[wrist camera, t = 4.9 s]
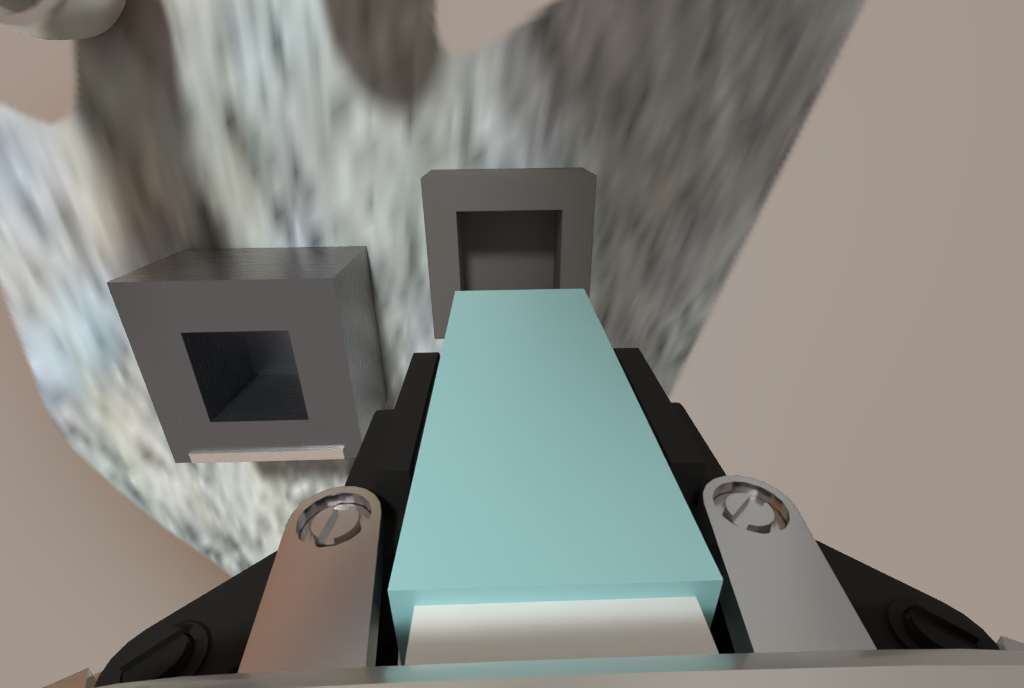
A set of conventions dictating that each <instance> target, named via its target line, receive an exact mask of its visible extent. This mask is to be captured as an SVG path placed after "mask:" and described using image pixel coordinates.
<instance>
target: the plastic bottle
mask: <svg viewBox="0 0 1024 688" xmlns="http://www.w3.org/2000/svg"><path fill="white" fill-rule="evenodd" d="M125 3H126V0H0V25H2V26H4V27H7V28H10V29H13V30H16V31H18V32H21V33H24V34H27V35H30V36H33V37H38V38H42V39H47V40H69V39H86V38H90V37H94V36H98V35H99V34H101V33H103V32H105V31H106V30H108V29H109V28H110V27H111V26H112V25H113V24H114V23H115V22H116V21H117V19H118V18H119V16H120V14H121V12H122V11H123V9H124V6H125Z"/></svg>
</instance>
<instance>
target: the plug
mask: <svg viewBox="0 0 1024 688" xmlns="http://www.w3.org/2000/svg"><path fill="white" fill-rule="evenodd" d="M722 583H723V578H722V576H721V574H720V572H719V570H718V568H717V566H716V564H715V561H714V559H713V557H712V555H711V553H710V551H709V549H708V547H707V545H706V543H705V541H704V538H703V536H702V534H701V532H700V530H699V528H698V526H697V524H696V522H695V520H694V518H693V515H692V513H691V511H690V509H689V507H688V505H687V503H686V501H685V499H684V497H683V495H682V492H681V490H680V488H679V486H678V484H677V482H676V480H675V478H674V476H673V474H672V472H671V469H670V467H669V465H668V463H667V461H666V459H665V457H664V455H663V453H662V451H661V449H660V446H659V444H658V442H657V440H656V438H655V436H654V434H653V432H652V430H651V428H650V426H649V423H648V421H647V419H646V417H645V415H644V413H643V411H642V409H641V407H640V405H639V403H638V400H637V398H636V396H635V394H634V392H633V390H632V388H631V386H630V384H629V382H628V380H627V377H626V375H625V373H624V371H623V369H622V367H621V365H620V363H619V361H618V359H617V357H616V355H615V352H614V350H613V348H612V346H611V344H610V342H609V340H608V338H607V336H606V334H605V332H604V329H603V327H602V325H601V323H600V321H599V319H598V317H597V315H596V313H595V311H594V309H593V306H592V304H591V302H590V300H589V298H588V296H587V294H586V292H585V290H584V289H535V290H484V291H455V295H454V299H453V303H452V308H451V312H450V317H449V321H448V325H447V330H446V334H445V339H444V343H443V348H442V352H441V356H440V361H439V365H438V370H437V374H436V379H435V383H434V387H433V392H432V396H431V401H430V405H429V410H428V414H427V418H426V423H425V427H424V432H423V436H422V441H421V445H420V449H419V454H418V458H417V463H416V467H415V472H414V476H413V480H412V485H411V489H410V494H409V498H408V502H407V507H406V511H405V516H404V520H403V525H402V529H401V533H400V538H399V542H398V547H397V551H396V556H395V560H394V564H393V569H392V573H391V578H390V582H389V587H388V596H389V601H390V607H391V612H392V617H393V623H394V628H395V633H396V639H397V644H398V649H399V655H400V660H401V665H426V664H450V663H475V662H502V661H529V660H557V659H584V658H613V657H642V656H671V655H703V654H719V652H718V650H717V647H716V645H715V642H714V640H713V637H712V635H711V633H710V627H711V624H712V620H713V616H714V613H715V609H716V605H717V602H718V598H719V594H720V591H721V587H722Z"/></svg>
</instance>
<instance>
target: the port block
mask: <svg viewBox="0 0 1024 688" xmlns="http://www.w3.org/2000/svg"><path fill="white" fill-rule="evenodd" d="M107 285H108V287H109V290H110V292H111V295H112V298H113V300H114V303H115V305H116V308H117V311H118V313H119V316H120V319H121V321H122V324H123V326H124V329H125V332H126V334H127V337H128V339H129V342H130V345H131V347H132V350H133V353H134V355H135V358H136V360H137V363H138V366H139V368H140V371H141V373H142V376H143V379H144V381H145V384H146V387H147V389H148V392H149V394H150V397H151V400H152V402H153V405H154V407H155V410H156V413H157V415H158V418H159V421H160V423H161V426H162V428H163V431H164V434H165V436H166V439H167V441H168V444H169V447H170V449H171V452H172V455H173V457H174V460H175V462H176V463H185V462H192V463H216V462H253V461H290V460H326V459H345V458H356V457H357V454H358V452H359V449H360V447H361V444H362V442H363V440H364V437H365V435H366V432H367V430H368V427H369V425H370V422H371V420H372V417H373V415H374V413H375V412H376V411H377V410H383V409H384V407H385V404H386V402H387V392H386V384H385V377H384V370H383V363H382V356H381V349H380V342H379V335H378V327H377V320H376V313H375V306H374V299H373V292H372V285H371V278H370V271H369V263H368V256H367V249H366V246H356V247H300V248H244V249H188V250H183V251H181V252H179V253H176V254H174V255H171V256H169V257H167V258H164V259H162V260H159V261H157V262H155V263H152V264H150V265H147V266H145V267H143V268H140V269H138V270H135V271H133V272H131V273H128V274H126V275H123V276H121V277H118V278H116V279H114V280H111V281H109V282H107Z"/></svg>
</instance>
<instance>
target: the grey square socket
mask: <svg viewBox="0 0 1024 688" xmlns="http://www.w3.org/2000/svg"><path fill="white" fill-rule="evenodd" d="M421 186H422V198H423V209H424V221H425V232H426V244H427V255H428V267H429V278H430V290H431V301H432V313H433V324H434V336H435V339H445V334H446V330H447V325H448V321H449V317H450V312H451V308H452V303H453V299H454V295H455V291H484V290H535V289H584V290H585V292H586V294H587V296H588V298H589V292H590V275H591V258H592V241H593V225H594V208H595V191H596V175H595V174H593V173H591V172H589V171H587V170H586V169H584V168H529V169H461V170H431V171H430V172H428V173H427V174H426V175H424V176H423V177H422V178H421Z"/></svg>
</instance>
